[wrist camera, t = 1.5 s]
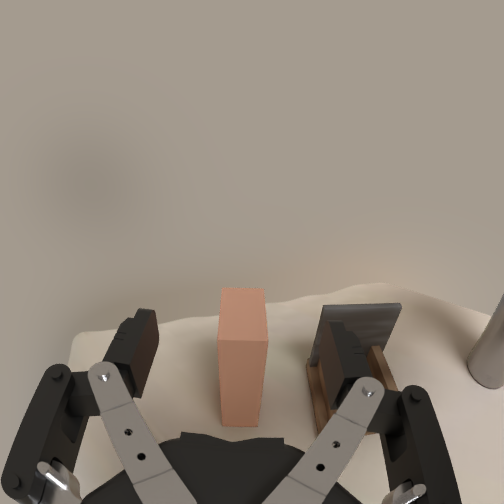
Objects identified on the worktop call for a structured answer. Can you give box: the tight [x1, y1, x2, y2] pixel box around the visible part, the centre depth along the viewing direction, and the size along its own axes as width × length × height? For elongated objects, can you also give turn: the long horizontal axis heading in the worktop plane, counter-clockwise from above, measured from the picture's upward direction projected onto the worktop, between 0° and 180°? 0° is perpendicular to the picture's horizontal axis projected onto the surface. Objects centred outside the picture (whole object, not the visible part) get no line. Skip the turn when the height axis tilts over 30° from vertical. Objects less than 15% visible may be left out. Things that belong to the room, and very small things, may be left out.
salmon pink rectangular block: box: [217, 288, 268, 427], centre depth 30 cm, size 7×4×15 cm, turn 1°
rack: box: [306, 303, 402, 435], centre depth 31 cm, size 12×10×12 cm
